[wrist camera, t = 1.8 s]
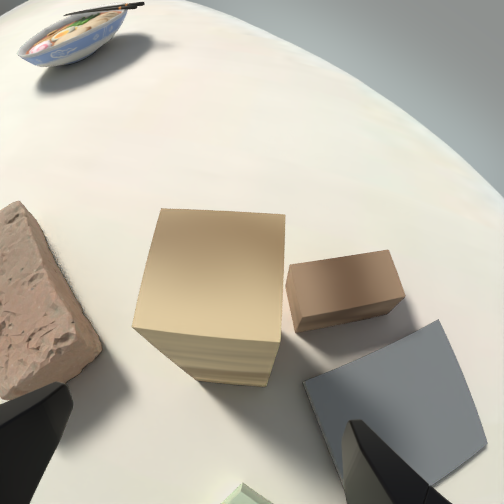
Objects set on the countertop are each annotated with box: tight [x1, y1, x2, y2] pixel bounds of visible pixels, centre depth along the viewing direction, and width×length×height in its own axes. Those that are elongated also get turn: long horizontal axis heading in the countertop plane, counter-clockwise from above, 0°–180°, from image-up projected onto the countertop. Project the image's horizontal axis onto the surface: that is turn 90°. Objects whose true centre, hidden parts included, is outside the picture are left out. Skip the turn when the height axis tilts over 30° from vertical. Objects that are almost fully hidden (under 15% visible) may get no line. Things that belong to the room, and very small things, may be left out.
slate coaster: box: [303, 319, 487, 490], centre depth 17 cm, size 11×11×1 cm
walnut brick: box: [285, 250, 405, 333], centre depth 21 cm, size 7×4×4 cm, turn 99°
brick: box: [0, 201, 102, 400], centre depth 20 cm, size 17×8×5 cm, turn 43°
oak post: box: [132, 208, 285, 387], centre depth 15 cm, size 4×4×12 cm
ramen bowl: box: [17, 2, 145, 67], centre depth 43 cm, size 25×23×8 cm
